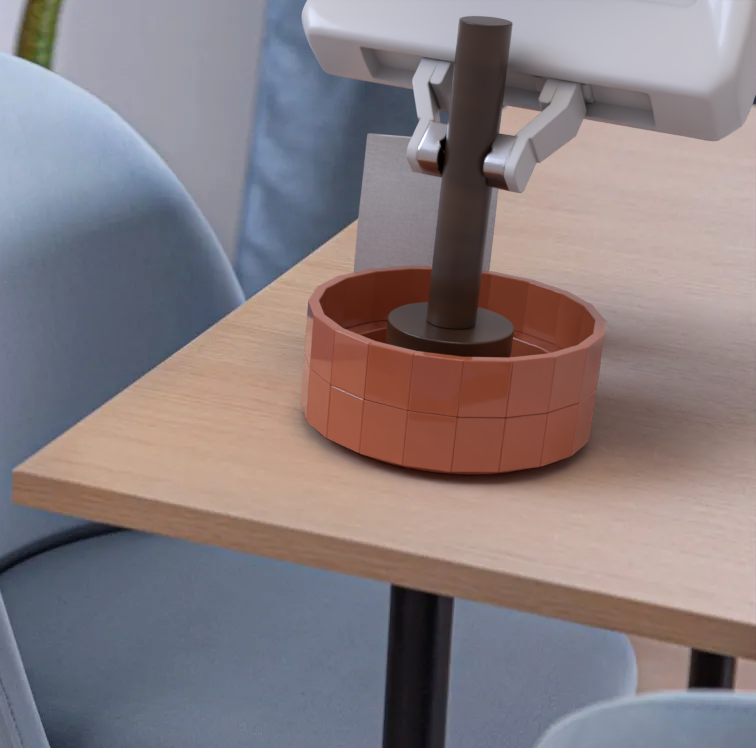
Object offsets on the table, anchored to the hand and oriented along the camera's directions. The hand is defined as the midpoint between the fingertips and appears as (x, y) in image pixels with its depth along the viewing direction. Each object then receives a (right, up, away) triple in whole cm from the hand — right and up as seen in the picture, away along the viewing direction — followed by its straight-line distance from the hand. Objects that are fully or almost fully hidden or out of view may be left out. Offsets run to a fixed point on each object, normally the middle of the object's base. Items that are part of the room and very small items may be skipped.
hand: (462, 175), depth 75 cm
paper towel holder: (0, -7, +4) cm, 8 cm away
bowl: (0, -10, +6) cm, 12 cm away
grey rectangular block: (0, -5, +17) cm, 18 cm away
